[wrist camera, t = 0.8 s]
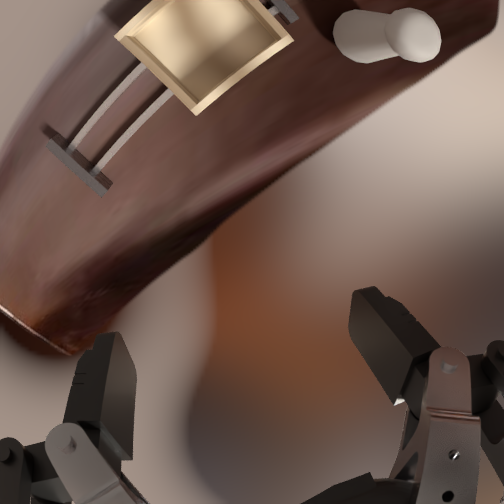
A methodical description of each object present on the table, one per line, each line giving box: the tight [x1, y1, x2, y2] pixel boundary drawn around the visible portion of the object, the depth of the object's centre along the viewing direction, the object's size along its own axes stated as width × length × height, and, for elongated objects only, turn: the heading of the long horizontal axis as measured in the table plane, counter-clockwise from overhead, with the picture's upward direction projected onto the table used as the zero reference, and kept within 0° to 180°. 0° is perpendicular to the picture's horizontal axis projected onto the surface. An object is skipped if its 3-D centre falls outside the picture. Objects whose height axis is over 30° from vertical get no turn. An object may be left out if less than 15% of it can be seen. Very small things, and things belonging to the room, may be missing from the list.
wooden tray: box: [114, 0, 294, 116], centre depth 22 cm, size 10×10×5 cm
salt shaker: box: [333, 8, 441, 63], centre depth 20 cm, size 6×6×13 cm
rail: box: [46, 0, 299, 197], centre depth 26 cm, size 28×9×2 cm, turn 129°
